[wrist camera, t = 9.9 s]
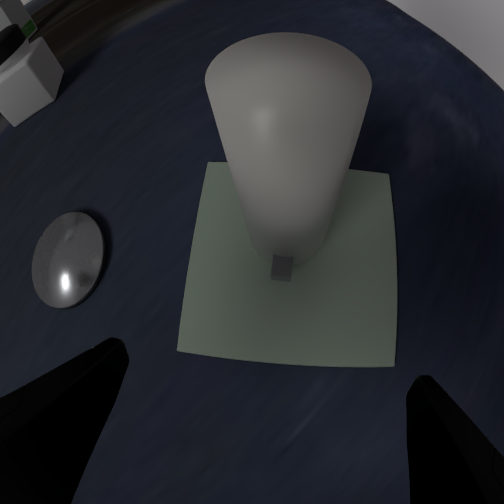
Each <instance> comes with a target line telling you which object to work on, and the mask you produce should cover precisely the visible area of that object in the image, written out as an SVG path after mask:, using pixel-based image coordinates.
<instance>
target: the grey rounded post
mask: <svg viewBox="0 0 504 504" xmlns="http://www.w3.org/2000/svg"><path fill="white" fill-rule="evenodd" d="M205 84H206V89H207V93H208V96H209V100H210V103H211V107H212V110H213V113H214V117H215V120H216V124H217V127H218V131H219V134H220V138H221V141H222V144H223V148H224V151H225V155H226V158H227V162H228V165H229V169H230V172H231V175H232V179H233V182H234V186H235V189H236V193H237V196H238V200H239V203H240V207H241V210H242V213H243V217H244V220H245V224H246V227H247V231H248V234H249V238H250V241H251V244H252V246H253V248H254V249H255V250H256V252H257V253H258V254H259V255H260V256H261V257H262V258H264V259H265V260H267V261H268V262H271V263H272V269H271V280H278V281H287V282H291V275H292V266H295V265H299V264H302V263H304V262H306V261H308V260H309V259H311V258H312V257H313V256H314V255H316V253H317V252H318V251H319V249H320V248H321V246H322V244H323V241H324V239H325V236H326V233H327V230H328V227H329V225H330V222H331V219H332V216H333V213H334V210H335V208H336V205H337V202H338V199H339V196H340V193H341V190H342V187H343V184H344V181H345V178H346V175H347V172H348V168H349V165H350V162H351V159H352V156H353V152H354V149H355V146H356V143H357V139H358V136H359V133H360V129H361V126H362V122H363V119H364V115H365V112H366V108H367V105H368V101H369V97H370V94H371V88H372V82H371V77H370V74H369V72H368V70H367V68H366V66H365V65H364V64H363V62H362V61H361V60H360V59H359V58H358V57H357V56H356V55H354V54H353V53H352V52H351V51H349V50H348V49H346V48H344V47H343V46H341V45H339V44H337V43H335V42H332V41H330V40H327V39H324V38H321V37H317V36H313V35H308V34H302V33H286V32H282V33H269V34H263V35H258V36H254V37H250V38H247V39H244V40H242V41H239V42H237V43H235V44H233V45H231V46H229V47H228V48H226V49H225V50H223V51H222V52H221V53H219V54H218V55H217V56H216V57H215V58H214V60H213V61H212V62H211V64H210V65H209V67H208V69H207V72H206V76H205Z"/></svg>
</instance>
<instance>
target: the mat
mask: <svg viewBox="0 0 504 504" xmlns="http://www.w3.org/2000/svg"><path fill="white" fill-rule="evenodd" d="M271 269H272V263H271V262H268V261H267V260H265V259H264V258H262V257H261V256H260V255H259V254H258V253H257V252H256V250H255V249H254V248H253V246H252V244H251V241H250V238H249V234H248V231H247V227H246V224H245V220H244V217H243V213H242V210H241V207H240V203H239V200H238V196H237V193H236V189H235V186H234V182H233V179H232V175H231V172H230V169H229V165H228V162H208V165H207V170H206V174H205V179H204V184H203V189H202V194H201V199H200V204H199V210H198V215H197V220H196V226H195V231H194V237H193V243H192V249H191V255H190V261H189V267H188V273H187V280H186V286H185V293H184V300H183V307H182V314H181V322H180V330H179V338H178V346H177V351H181V352H187V353H193V354H200V355H207V356H214V357H221V358H229V359H237V360H246V361H256V362H266V363H278V364H291V365H308V366H331V367H394V363H395V350H396V331H397V259H396V240H395V226H394V215H393V205H392V196H391V188H390V180H389V174H385V173H377V172H369V171H360V170H351V169H348V172H347V175H346V178H345V181H344V184H343V187H342V190H341V193H340V196H339V199H338V202H337V205H336V208H335V210H334V213H333V216H332V219H331V222H330V225H329V227H328V230H327V233H326V236H325V239H324V241H323V244H322V246H321V248H320V249H319V251H318V252H317V253H316V255H314V256H313V257H312V258H311V259H309V260H308V261H306V262H304V263H302V264H299V265H295V266H292V275H291V282H287V281H278V280H271Z"/></svg>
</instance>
